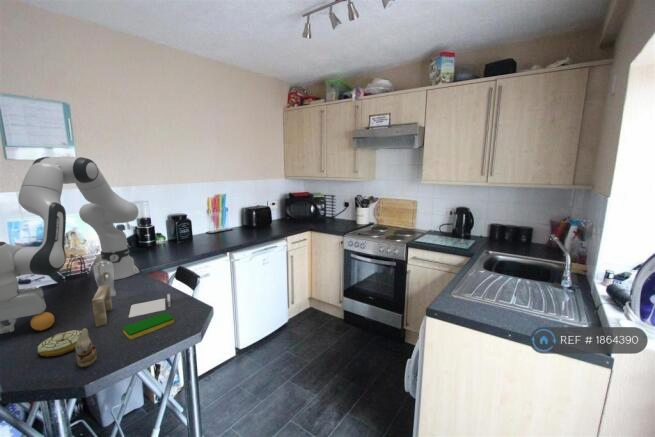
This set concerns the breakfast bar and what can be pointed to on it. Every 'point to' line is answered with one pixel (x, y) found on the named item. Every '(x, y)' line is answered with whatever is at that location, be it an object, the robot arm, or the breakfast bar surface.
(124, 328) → the dish sponge
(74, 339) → the decorated donut
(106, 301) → the bridge
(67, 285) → the breakfast bar surface
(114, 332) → the breakfast bar surface
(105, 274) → the beer glass
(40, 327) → the ball
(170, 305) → the stopper
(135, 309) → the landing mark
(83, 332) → the chocolate bunny
